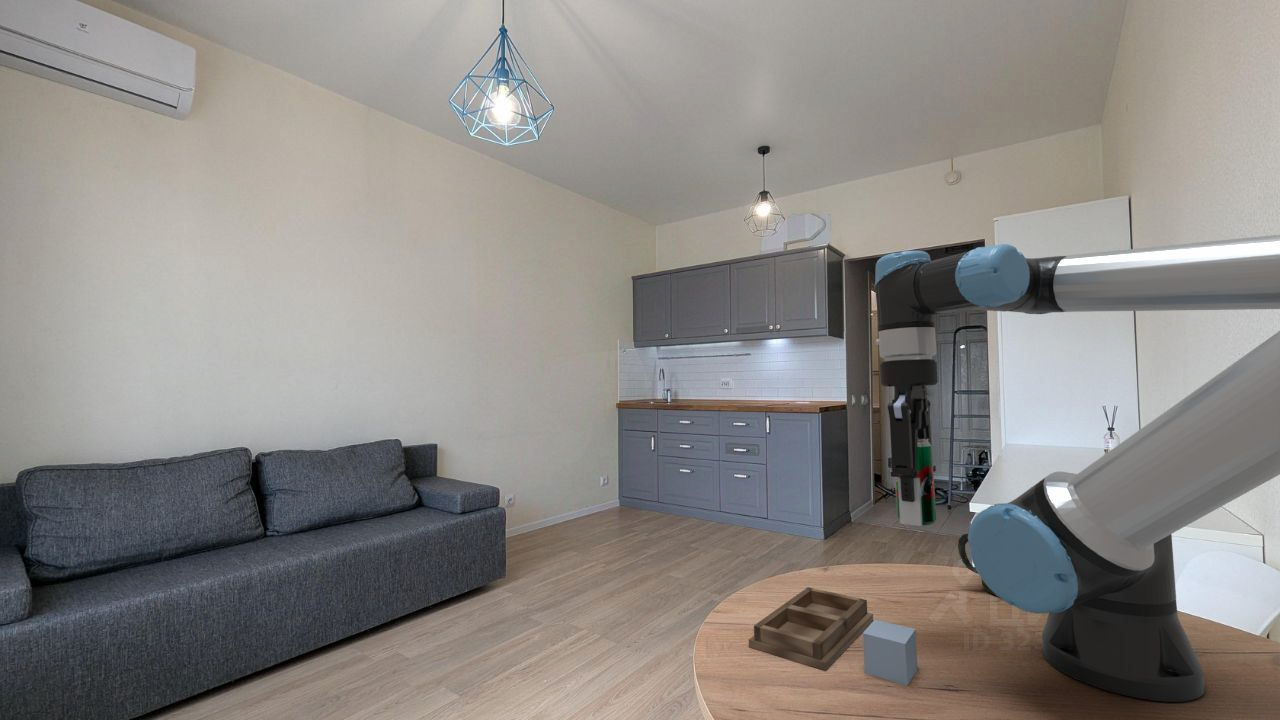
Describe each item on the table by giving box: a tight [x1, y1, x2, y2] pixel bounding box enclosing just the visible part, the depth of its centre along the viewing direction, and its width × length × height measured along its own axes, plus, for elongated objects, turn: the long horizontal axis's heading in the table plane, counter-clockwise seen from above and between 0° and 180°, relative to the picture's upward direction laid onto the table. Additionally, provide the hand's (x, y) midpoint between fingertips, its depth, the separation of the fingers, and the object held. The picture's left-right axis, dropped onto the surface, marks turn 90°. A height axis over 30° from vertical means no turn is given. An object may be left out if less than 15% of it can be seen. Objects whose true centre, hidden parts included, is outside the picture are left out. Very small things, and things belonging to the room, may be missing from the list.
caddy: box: [748, 586, 874, 672], centre depth 81 cm, size 11×19×3 cm, turn 140°
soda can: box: [894, 437, 937, 526], centre depth 79 cm, size 5×5×12 cm
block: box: [862, 619, 919, 687], centre depth 69 cm, size 5×5×5 cm
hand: (916, 519), depth 79 cm, fingers closed on soda can, 5 cm apart
